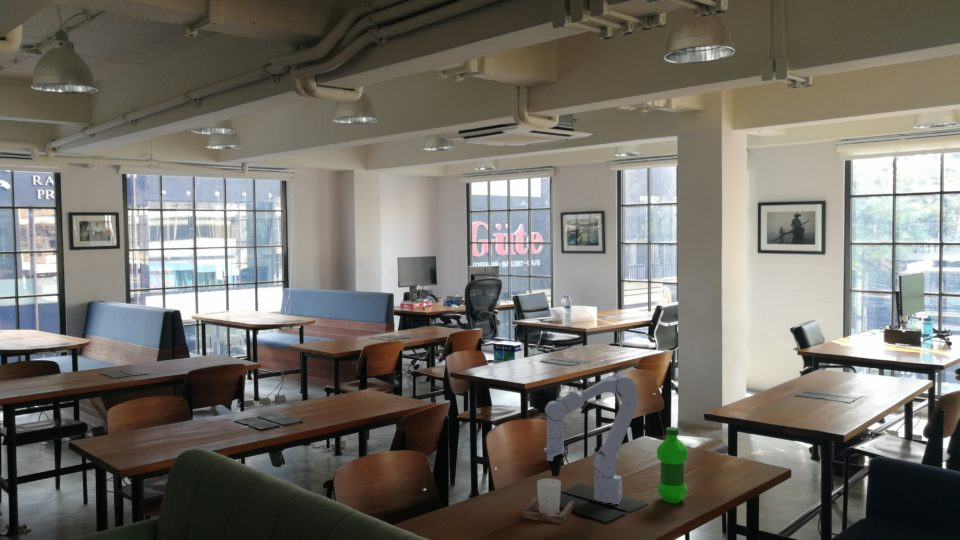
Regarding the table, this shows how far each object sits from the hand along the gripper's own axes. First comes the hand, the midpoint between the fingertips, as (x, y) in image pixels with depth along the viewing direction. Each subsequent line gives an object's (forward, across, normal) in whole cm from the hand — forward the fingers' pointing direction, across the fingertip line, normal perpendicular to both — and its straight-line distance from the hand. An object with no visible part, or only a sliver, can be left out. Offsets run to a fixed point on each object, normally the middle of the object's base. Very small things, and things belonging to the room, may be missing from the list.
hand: (555, 475), depth 266 cm
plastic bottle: (+10, -15, +38) cm, 41 cm away
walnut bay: (+9, +10, 0) cm, 13 cm away
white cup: (+10, +9, 0) cm, 13 cm away
